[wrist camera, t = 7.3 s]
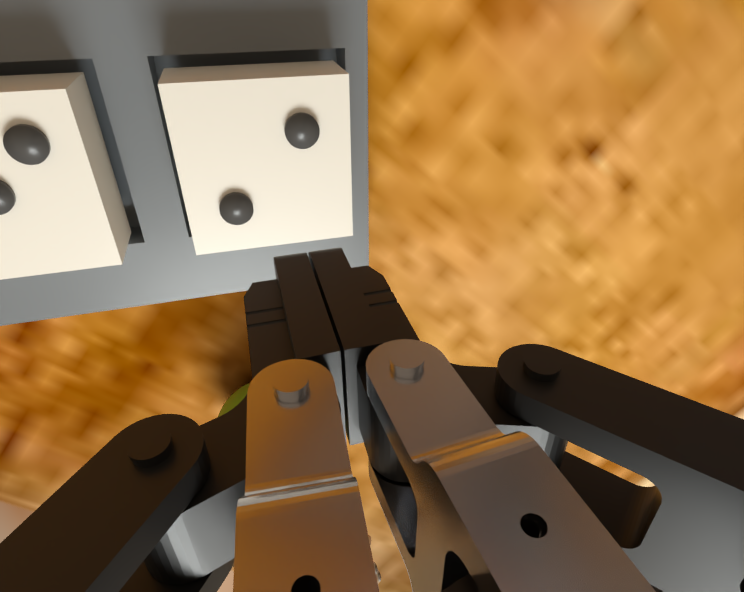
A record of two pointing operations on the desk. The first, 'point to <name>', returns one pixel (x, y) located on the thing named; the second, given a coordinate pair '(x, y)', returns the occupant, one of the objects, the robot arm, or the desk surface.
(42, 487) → the desk surface
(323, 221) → the tile two dots
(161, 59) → the socket board
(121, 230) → the tile three dots
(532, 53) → the desk surface
